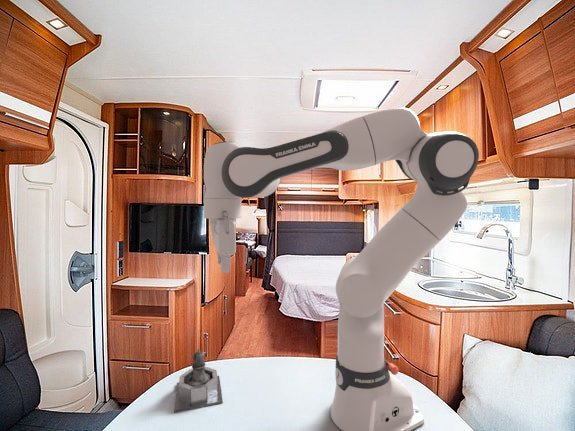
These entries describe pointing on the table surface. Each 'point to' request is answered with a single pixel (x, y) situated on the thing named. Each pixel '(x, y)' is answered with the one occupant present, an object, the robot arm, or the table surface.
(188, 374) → the duct collar
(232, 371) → the table surface
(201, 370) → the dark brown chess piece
